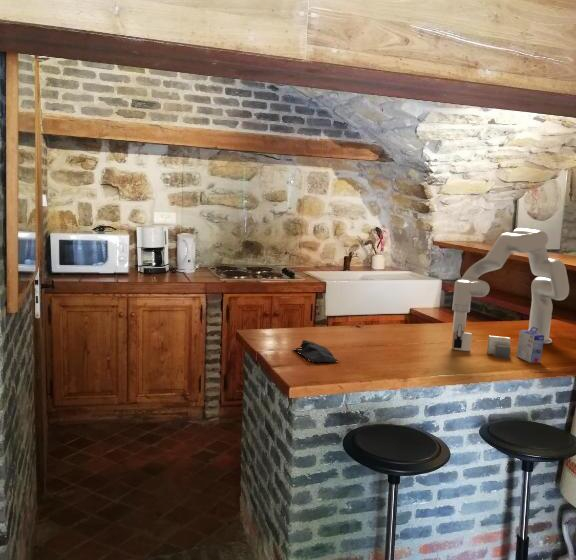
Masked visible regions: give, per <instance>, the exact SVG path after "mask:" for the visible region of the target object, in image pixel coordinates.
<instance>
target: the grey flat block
mask: <svg viewBox="0 0 576 560" xmlns="http://www.w3.org/2000/svg"><path fill="white" fill-rule="evenodd" d="M457 335H458V334H457ZM455 336H456V333H455V332H454V333H453V332H452V340H451V341H452V342H451V350H455V351H456V350H457V351H464V352H466V351H467V352H471V346H472V336H473V333H472V332H465V331H464V334H462V345H461V348H454V340H455Z"/></svg>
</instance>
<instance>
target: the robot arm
mask: <svg viewBox="0 0 576 560" xmlns="http://www.w3.org/2000/svg"><path fill="white" fill-rule="evenodd" d="M548 242H549V236H548V233H546V232H545V231H544V230H540V229H532V228H525V227H524V228H523V227H520V228H519V227H517V228H515V229H514V230H512V232H503V233H502V234H500V235H499V236H498V237H497V239H496V241H495V242H494V243H493V245H492V247H491V248H490V250H488V252H487V253H486V255H485V257H483V258H481V259H480V260H478V261H477V262H475V263H473V264H472V265H471V266H470V267H469V268H467V270H465V272H464V274H463V276H462V277H461V278H460V279H457V280H456V281H455V282H454V286H453V287H454V289H453V298H452V299H453V300H452V308H451V309H452V311H453V320H452V328H451V329H452V334H453V333H454V332H455V333H456V336H455V340H454V348H461V345H462V334H464V332H465V331H466V330H465V328H466V324H467V323H466V322H467V313H470V312H471V303H472V302H471V301H472V297H476V298H477V297H478V298H482V297H486V296H487V295H488V294H489V292H490V289H491V288H490V285H489V283H488V282H486V281H484V280H482V279H479V277H481V276H482V275H484V274H486V273H489V272H493V271H497V270H500V269H502V268H503V266H504V264H505V263H506V261H508V259H509V257H510V255H512V253H514V254H527V257H528V261H529V266H530V267H529V268H530V270H531V273H532V275H534V276H536V277H535V278H534V279H533V280H532V281H531V287H530V288H531V291H530V292H531V307H530V312H529V321H528V322H529V323H528V329H527V330H530V329H531V328H532V327H536V328H538V330H537V332H536V333H539V334H541V335H544V342H543V345H544V344H545V345H547V344H548V345H549V344H551V343H552V342H553V340H552V338H550V332H551V331H550V330H551V322H552V313H553V306H554V305H553V302H552V300H554V301H564V300H565V299H566V298H568V296H569V294H570V283H569V278H568V274H567V273H568V272H567V268H566V265H565V264H564V262H563V261H561V260H560V259H556V258H551V257H549V254H548V250H547V247H546V246H547V244H548ZM532 330H534V331H536V329H532ZM457 334H458V335H457Z"/></svg>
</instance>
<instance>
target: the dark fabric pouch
mask: <svg viewBox="0 0 576 560" xmlns="http://www.w3.org/2000/svg"><path fill="white" fill-rule="evenodd" d="M300 347H302V348H300ZM295 349H296V351H298V352H299V353H301V355H303V356H304V357H305V358H307V359H309V360H310V361H312V362H311V363H313V362H336V361H339V360H338V359H337V358H336V357H335V356H334V357H335V358H336V359H335V358H334V357H333V355H334V354H333V353H332V352H331V351H330V349H328V348H327V347H326V346H322V345H320V344H318V343H316V342H313V341H309V340H306V339H305V340H304V339H303V340H302V342H301V344H300V346H299V347H297V348H296V347H295ZM298 349H302V350H298ZM296 351H295V352H296ZM332 354H333V355H332ZM303 356H302V357H303ZM304 357H303V358H304ZM305 358H304V359H305ZM307 359H306V360H307ZM310 361H309V362H310Z"/></svg>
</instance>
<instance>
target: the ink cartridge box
mask: <svg viewBox="0 0 576 560" xmlns="http://www.w3.org/2000/svg"><path fill="white" fill-rule="evenodd" d="M532 329H536V331H534V330H532ZM537 330H538V328H536V327H532V328H531V329H530V330H528V329H520V330H519V334H518V335H519V336H518V341H517V342H518V343H517V348H516V354H515V355H516V356H515V357H517V358H519V359H521V360H524V361H526V362H528V363H530V364H533V363H534V364H535V363H536V364H541V363H542V355H543V354H542V353H543V347H544V344H543V342H544V335H541V334H539V333H536V332H537Z"/></svg>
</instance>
